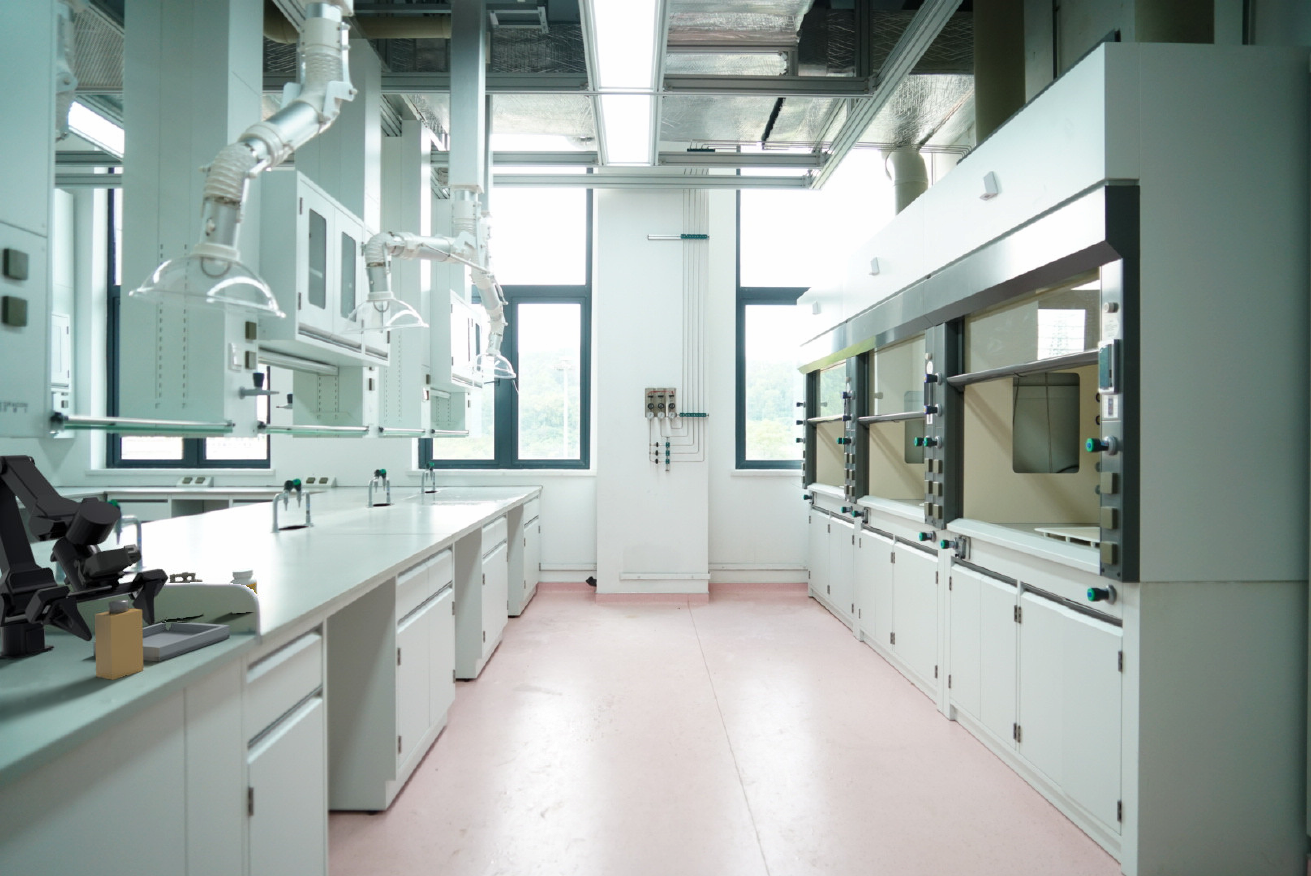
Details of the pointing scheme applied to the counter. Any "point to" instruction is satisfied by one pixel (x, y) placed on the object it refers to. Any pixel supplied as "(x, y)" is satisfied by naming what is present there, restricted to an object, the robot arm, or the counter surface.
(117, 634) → the reagent bottle
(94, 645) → the tray
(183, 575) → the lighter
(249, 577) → the supplement bottle
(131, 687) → the counter surface
